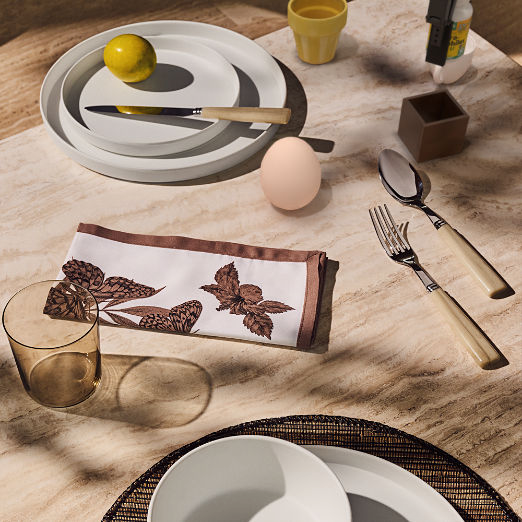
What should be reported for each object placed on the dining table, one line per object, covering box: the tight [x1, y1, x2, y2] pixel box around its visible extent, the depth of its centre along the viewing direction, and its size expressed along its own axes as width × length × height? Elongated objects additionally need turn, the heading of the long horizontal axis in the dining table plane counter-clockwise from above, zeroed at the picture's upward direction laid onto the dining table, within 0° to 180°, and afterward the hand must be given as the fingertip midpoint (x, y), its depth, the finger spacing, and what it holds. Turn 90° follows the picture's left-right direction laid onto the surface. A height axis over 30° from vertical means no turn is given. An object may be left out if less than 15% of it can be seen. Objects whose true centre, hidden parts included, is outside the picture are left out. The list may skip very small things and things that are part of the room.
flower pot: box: [287, 0, 349, 65], centre depth 121 cm, size 10×10×10 cm
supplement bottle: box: [425, 0, 474, 63], centre depth 93 cm, size 5×5×10 cm
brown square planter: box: [397, 88, 471, 164], centre depth 105 cm, size 7×7×7 cm
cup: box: [427, 34, 477, 85], centre depth 116 cm, size 8×10×7 cm
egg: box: [259, 136, 322, 211], centre depth 96 cm, size 9×9×11 cm
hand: (443, 51), depth 96 cm, fingers closed on supplement bottle, 5 cm apart
